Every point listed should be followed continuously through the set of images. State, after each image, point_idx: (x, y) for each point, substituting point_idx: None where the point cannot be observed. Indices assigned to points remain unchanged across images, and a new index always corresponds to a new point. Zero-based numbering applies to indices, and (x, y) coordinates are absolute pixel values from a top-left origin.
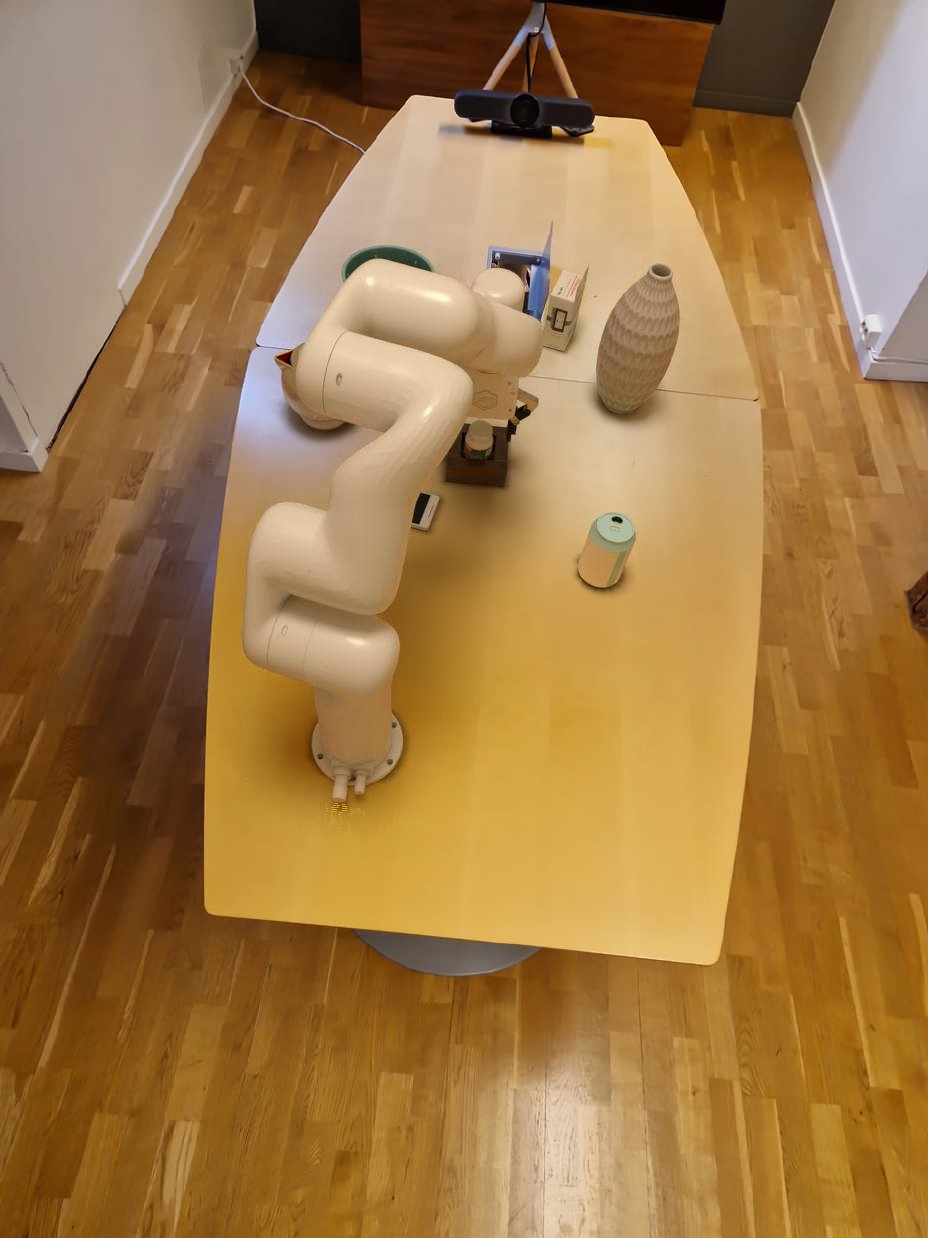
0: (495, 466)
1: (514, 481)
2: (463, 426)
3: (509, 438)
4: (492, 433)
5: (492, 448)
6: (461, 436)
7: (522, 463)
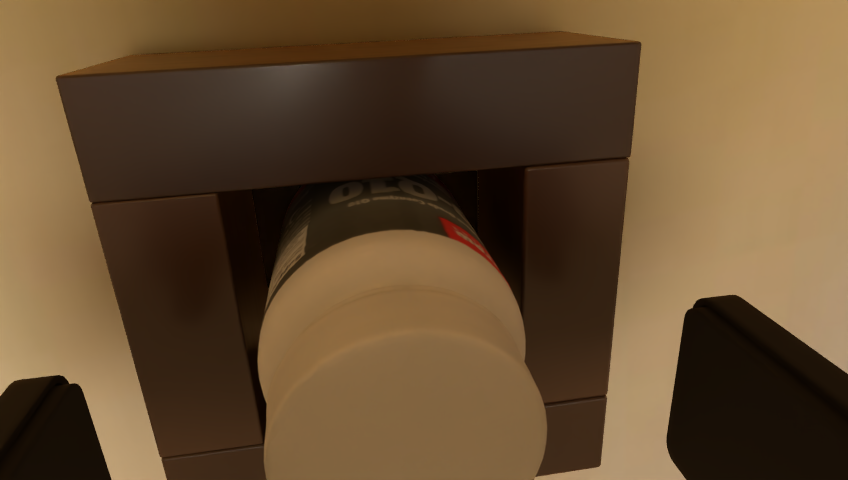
0: (191, 123)
1: (66, 127)
2: None
3: (4, 413)
4: None
5: None
6: None
7: (58, 296)
